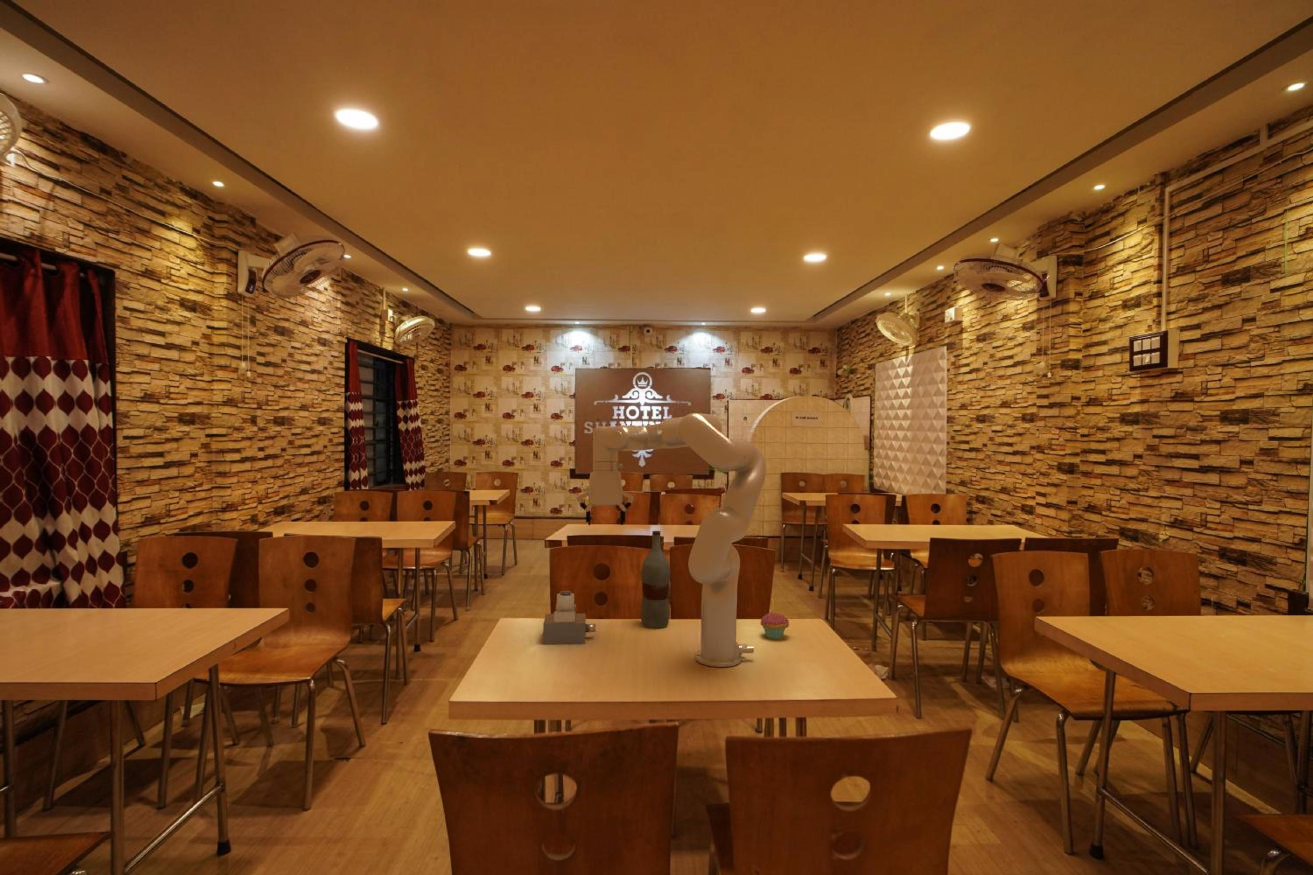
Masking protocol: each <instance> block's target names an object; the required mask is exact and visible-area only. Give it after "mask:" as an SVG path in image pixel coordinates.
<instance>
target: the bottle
mask: <svg viewBox="0 0 1313 875" xmlns="http://www.w3.org/2000/svg"><path fill="white" fill-rule="evenodd" d="M651 541H652V542H651V549H650V550H649V552H648V553H647V555H646V556H645V558H644V560H643V562H642V564H641V565H642V566H641V574H640V576H641V584H642V585H641V586H642V599H641V606H640V618H641V620H640V621H641V625H642V626H643V627H644V628H646V629H651V630H658V629H659V630H660V629H664V628H667V627H668V625H669V622H670V613H671V612H670V601H669V588H670V578H671V568H670V563H669V562H670V561H669V560H668V559H667V557H666V555H665V554H664V552H663V550H662V548H661V530H652V531H651Z"/></svg>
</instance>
